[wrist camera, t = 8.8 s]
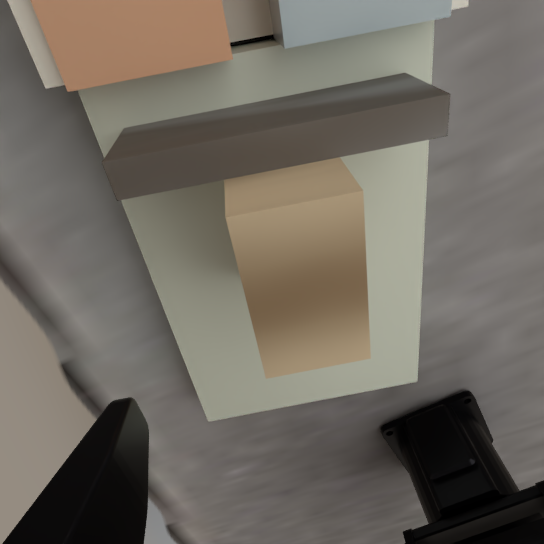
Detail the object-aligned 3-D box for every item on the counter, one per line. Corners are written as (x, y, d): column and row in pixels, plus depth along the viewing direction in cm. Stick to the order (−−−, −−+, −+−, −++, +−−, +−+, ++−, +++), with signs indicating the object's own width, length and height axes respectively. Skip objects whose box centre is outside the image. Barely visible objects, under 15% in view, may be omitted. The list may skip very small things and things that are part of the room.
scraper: (403, 246, 19) (468, 339, 14) (181, 290, 19) (168, 397, 14) (405, 72, 15) (498, 117, 10) (124, 127, 15) (78, 199, 10)
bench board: (404, 356, 26) (417, 381, 24) (208, 393, 26) (208, 421, 24) (412, 11, 16) (434, 14, 14) (90, 74, 16) (75, 84, 14)
